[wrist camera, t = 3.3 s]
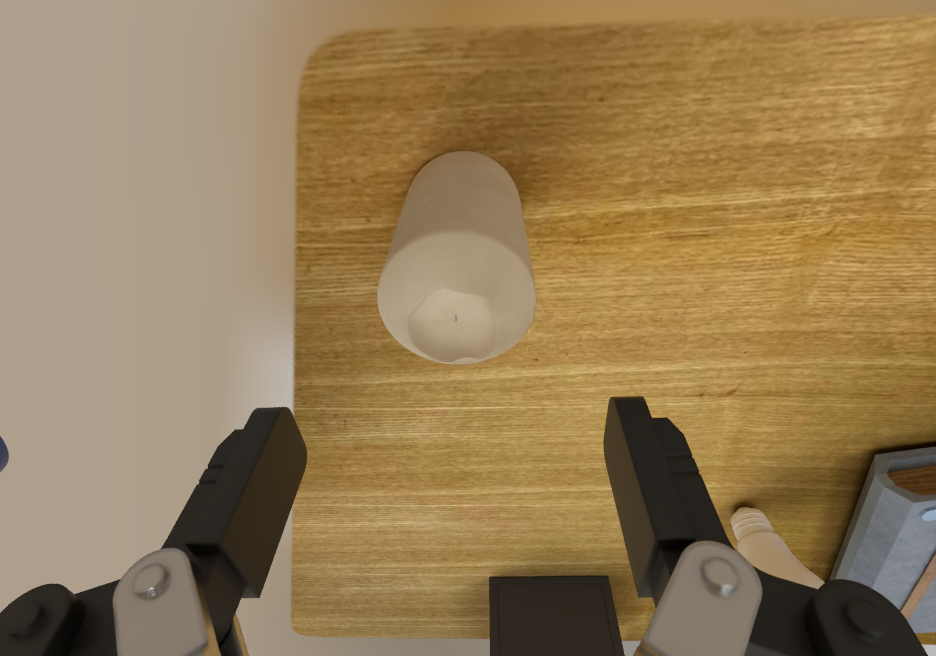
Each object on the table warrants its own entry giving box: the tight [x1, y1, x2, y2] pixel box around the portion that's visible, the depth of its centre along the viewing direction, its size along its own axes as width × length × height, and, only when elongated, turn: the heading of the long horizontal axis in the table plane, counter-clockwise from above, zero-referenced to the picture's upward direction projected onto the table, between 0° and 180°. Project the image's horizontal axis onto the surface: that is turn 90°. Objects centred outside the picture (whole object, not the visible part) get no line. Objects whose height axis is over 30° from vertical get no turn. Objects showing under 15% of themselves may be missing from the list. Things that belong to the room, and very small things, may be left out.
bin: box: [489, 576, 625, 656], centre depth 45 cm, size 11×11×9 cm
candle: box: [377, 151, 537, 364], centre depth 19 cm, size 6×6×10 cm
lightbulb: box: [730, 507, 825, 589], centre depth 34 cm, size 6×6×11 cm
